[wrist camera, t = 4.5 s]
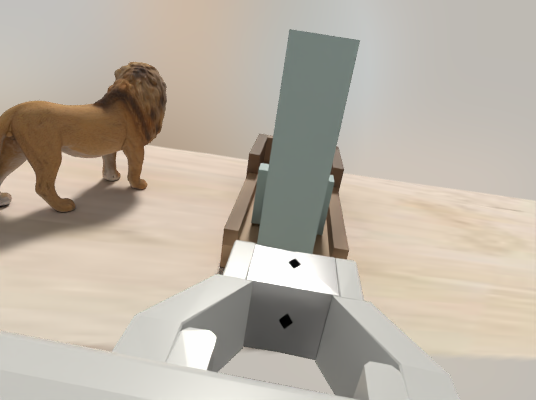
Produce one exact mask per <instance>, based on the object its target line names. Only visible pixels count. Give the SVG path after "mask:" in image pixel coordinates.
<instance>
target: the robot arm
mask: <svg viewBox="0 0 536 400" xmlns="http://www.w3.org/2000/svg"><path fill="white" fill-rule="evenodd" d="M243 346H244V347H250V348H256V349H263V350H269V351H275V352H281V353H285V354H290V355H294V356H299V357H304V358H308V359H313V360H316V361H315V362H316V364H317V365H318V367H319V369H320V370H321V372H322V374H323V375H324V377H325V379H326V381H327V382H328V384H329V385H330V387H331V389H332V390H333V392H334V394H335V395H332V394H327V393H321V392H317V391H311V390H306V389H301V388H296V387H291V386H285V385H280V384H275V383H270V382H264V381H260V380H255V379H249V378H244V377H239V376H233V375H229V374H223V373H218V371H219V370H220V369H221V368H222V367H224V366H225V365H226V364H227V363H228V362H229V361H230V360H231V359H232V358H233V357H234V356H235V355H236V354H237V353H238V352H239V351H240V350H241V349H243ZM0 400H460V398H459V396H458V393H457V391H456V388H455V386H454V383H453V381H452V378H451V376H450V375H449V374H448V373H447V372H446V371H445V370H444V369H443V368H442V367H441V366H439V365H438V364H437V363H436V362H435V361H434V360H433V359H432V358H431V357H430V356H429V355H428V354H426V353H425V352H424V351H423V350H422V349H421V348H420V347H419V346H418V345H417V344H415V343H414V342H413V341H412V340H411V339H410V338H409V337H408V336H407V335H406V334H405V333H403V332H402V331H401V330H400V329H399V328H398V327H397V326H396V325H395V324H394V323H393V322H391V321H390V320H389V319H388V318H387V317H386V316H385V315H384V314H383V313H382V312H381V311H379V310H378V309H377V308H376V307H375V306H374V305H373V304H372V303H371V302H367V301H364V297H363V292H362V288H361V283H360V278H359V273H358V269H357V264H356V262H355V261H354V260H347V259H339V258H334V257H327V256H321V255H314V254H308V253H302V252H295V251H292V250H287V249H282V248H277V247H272V246H267V245H262V244H255V243H253V242H247V241H241V240H236V241H235V242H234V245H233V247H232V250H231V253H230V256H229V258H228V261H227V264H226V266H225V269H224V272H223V275H220V274H215V275H214V276H212V277H210V278H208V279H206V280H204V281H202V282H200V283H198V284H196V285H194V286H192V287H190V288H188V289H186V290H184V291H182V292H180V293H178V294H176V295H174V296H172V297H170V298H168V299H166V300H164V301H162V302H160V303H158V304H156V305H154V306H152V307H150V308H148V309H146V310H144V311H142V312H140V313H138V314H136V315H135V316H134V317H133V319H132V321H131V322H130V324H129V325H128V327H127V328H126V330H125V332H124V333H123V335H122V336H121V338H120V339H119V341H118V343H117V344H116V346H115V347H114V349H113V351H112V352H110V351H105V350H99V349H94V348H89V347H84V346H79V345H74V344H68V343H63V342H58V341H53V340H48V339H42V338H37V337H32V336H27V335H22V334H17V333H11V332H6V331H1V330H0Z"/></svg>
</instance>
